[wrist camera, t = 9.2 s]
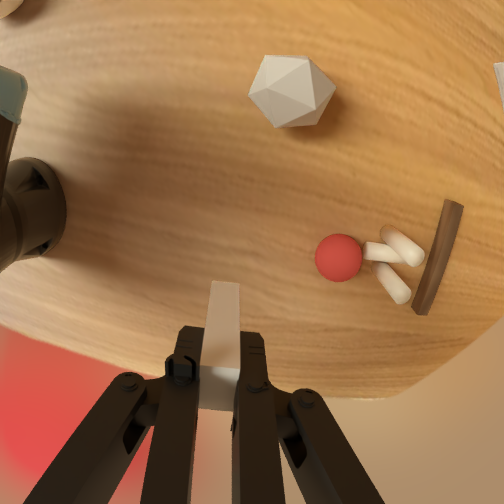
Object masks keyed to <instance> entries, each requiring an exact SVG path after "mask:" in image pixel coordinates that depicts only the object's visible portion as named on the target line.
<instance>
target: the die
mask: <svg viewBox="0 0 504 504" xmlns="http://www.w3.org/2000/svg"><path fill="white" fill-rule="evenodd" d="M335 89H336V86H335V85H334V84H333V82H332V81H331V80H330V79H329V78H328V77H327V76H326V75H325V74H324V73H323V72H322V71H321V70H320V69H319V68H318V67H317V66H316V65H315V64H314V63H313V62H312V61H311V60H310V59H309V58H308V57H307V56H296V55H265V57H264V59H263V61H262V63H261V66H260V68H259V70H258V72H257V75H256V77H255V79H254V82H253V84H252V86H251V88H250V91H249V93H248V96H249V98H250V99H251V100H252V101H253V102H254V103H255V104H256V106H257V107H258V108H259V109H260V110H261V112H262V113H263V114H264V115H265V116H266V118H267V119H268V120H269V121H270V122H271V124H272V125H273V126H274V127H275V128H284V127H295V126H307V125H316V124H317V122H318V121H319V119H320V117H321V115H322V113H323V111H324V110H325V108H326V106H327V104H328V102H329V100H330V99H331V97H332V95H333V93H334V91H335Z"/></svg>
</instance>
